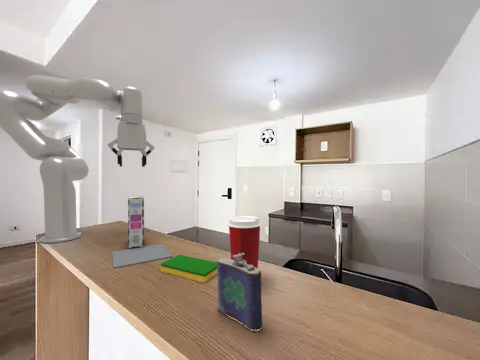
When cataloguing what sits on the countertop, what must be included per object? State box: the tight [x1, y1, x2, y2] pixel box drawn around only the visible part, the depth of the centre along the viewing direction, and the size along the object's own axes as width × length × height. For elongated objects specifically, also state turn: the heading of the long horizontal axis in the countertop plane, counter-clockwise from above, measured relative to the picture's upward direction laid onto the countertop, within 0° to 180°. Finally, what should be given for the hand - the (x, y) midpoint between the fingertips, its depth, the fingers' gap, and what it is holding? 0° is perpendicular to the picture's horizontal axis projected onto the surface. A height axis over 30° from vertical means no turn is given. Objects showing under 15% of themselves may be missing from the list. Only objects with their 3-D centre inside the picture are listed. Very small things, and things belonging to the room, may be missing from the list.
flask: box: [217, 253, 263, 330], centre depth 37 cm, size 9×3×11 cm, turn 48°
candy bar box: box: [127, 196, 145, 249], centre depth 77 cm, size 11×5×16 cm, turn 25°
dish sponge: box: [160, 254, 218, 284], centre depth 55 cm, size 7×14×2 cm, turn 63°
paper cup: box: [226, 215, 262, 269], centre depth 50 cm, size 8×8×14 cm
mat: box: [111, 243, 173, 269], centre depth 67 cm, size 14×15×1 cm
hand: (132, 166), depth 86 cm, fingers open, 7 cm apart
